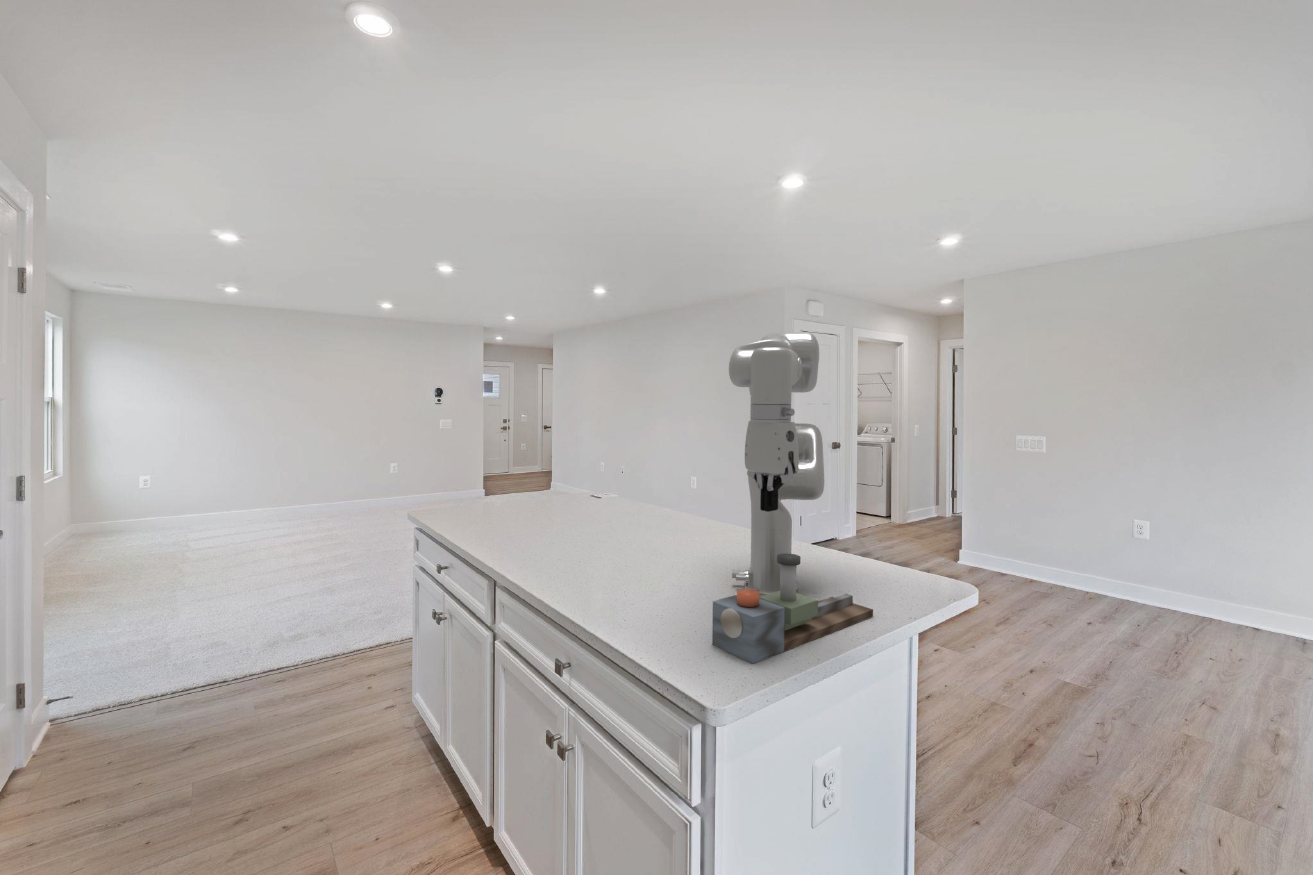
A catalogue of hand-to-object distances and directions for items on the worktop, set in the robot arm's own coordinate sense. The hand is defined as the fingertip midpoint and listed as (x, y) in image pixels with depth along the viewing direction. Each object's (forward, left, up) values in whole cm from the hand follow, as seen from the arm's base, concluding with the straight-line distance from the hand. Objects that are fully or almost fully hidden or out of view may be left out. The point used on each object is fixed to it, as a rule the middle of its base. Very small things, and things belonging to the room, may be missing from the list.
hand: (769, 509), depth 108 cm
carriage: (+4, +1, -22) cm, 22 cm away
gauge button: (-3, -8, -16) cm, 18 cm away
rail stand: (+6, +3, -24) cm, 25 cm away
